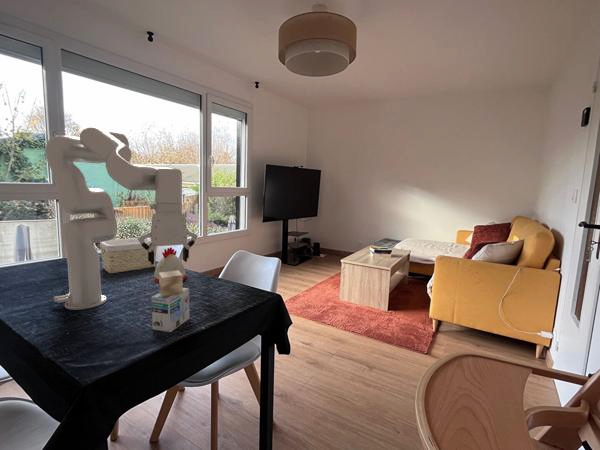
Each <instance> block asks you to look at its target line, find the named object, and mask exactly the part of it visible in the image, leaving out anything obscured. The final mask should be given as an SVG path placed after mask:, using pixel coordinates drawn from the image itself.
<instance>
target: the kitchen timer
mask: <svg viewBox="0 0 600 450" xmlns="http://www.w3.org/2000/svg"><path fill="white" fill-rule="evenodd" d="M163 250H164V252H161V254H162V256H163V257H162V258H160V260H159V261H158V262H157V263H155V270H154V274H153V279H154V282H156V283H159V273H160V272H169V271H177V270H179V271H180V273H181V274H182V276H183V281H184V280H185V279H186V278H187V273H186V269H185V265H184V263H183V262H182V260H181V259H180V257H178V256H177V250H175V249H174V248H172V247H167V248H164V249H163Z"/></svg>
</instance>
